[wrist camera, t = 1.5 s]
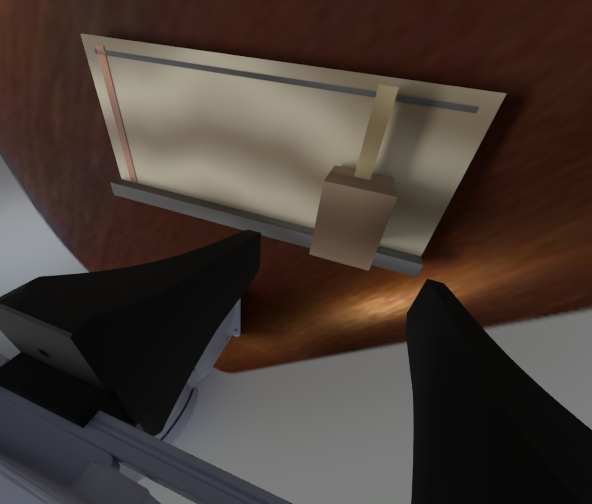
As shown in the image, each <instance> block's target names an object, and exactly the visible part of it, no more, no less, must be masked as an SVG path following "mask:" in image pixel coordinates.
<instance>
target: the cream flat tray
mask: <svg viewBox="0 0 592 504" xmlns="http://www.w3.org/2000/svg"><path fill="white" fill-rule="evenodd" d="M81 37H82V41H83V44H84V48H85V51H86V55H87V58H88V62H89V65H90V69H91V73H92V76H93V80H94V83H95V87H96V90H97V94H98V97H99V101H100V104H101V108H102V111H103V115H104V118H105V122H106V125H107V129H108V132H109V136H110V139H111V143H112V146H113V150H114V153H115V157H116V161H117V164H118V168H119V171H120V175H121V178H122V179H120V180H117V181H114V182H110V183H111V186H112V189H113V192H114V195H117V196H121V197H124V198H128V199H132V200H135V201H139V202H143V203H146V204H150V205H154V206H157V207H161V208H165V209H168V210H172V211H176V212H179V213H183V214H187V215H190V216H194V217H198V218H201V219H205V220H208V221H212V222H216V223H219V224H223V225H227V226H230V227H234V228H238V229H241V230H248V229H249V230H253V231H257V232H260V233H261V235H263V236H267V237H271V238H274V239H278V240H282V241H285V242H289V243H293V244H296V245H300V246H304V247H307V248H311V243H312V238H313V233H314V228H315V223H316V218H317V213H318V208H319V203H320V198H321V193H322V187H323V182H324V180H325V178H326V177H327V176H328V174H329V173H330V171H331V170H332V169H333V167H334V166H335V165H336V166H341V167H346V168H350V169H355V170H356V167H357V164H358V160H359V156H360V153H361V149H362V145H363V141H364V138H365V134H366V130H367V126H368V123H369V119H370V115H371V112H372V108H373V104H374V100H375V97H376V93H377V89H378V85H379V84H380V85H386V86H393V87H399V89H398V92H397V95H396V98H395V102H394V105H393V108H392V111H391V115H390V118H389V121H388V124H387V127H386V131H385V134H384V137H383V140H382V144H381V147H380V150H379V153H378V157H377V160H376V163H375V166H374V170H373V173H374V174H379V175H384V176H389V177H393V178H394V181H395V187H396V192H397V200H396V202H395V205H394V208H393V210H392V213H391V215H390V218H389V220H388V223H387V225H386V228H385V231H384V233H383V236H382V238H381V241H380V243H379V246H378V249H377V251H376V254H375V256H374V259H373V261H372V264H371V265H373V266H377V267H380V268H384V269H388V270H391V271H395V272H399V273H402V274H406V275H410V276H413V277H417V276H418V274H419V272H420V270H421V268H422V267H423V262H422V258H421V255H422V254H423V252H424V250H425V248H426V246H427V244H428V242H429V240H430V238H431V236H432V235H433V233H434V231H435V229H436V227H437V225H438V223H439V221H440V219H441V217H442V216H443V214H444V212H445V210H446V208H447V206H448V204H449V202H450V200H451V198H452V197H453V195H454V193H455V191H456V189H457V187H458V185H459V183H460V181H461V179H462V178H463V176H464V174H465V172H466V170H467V168H468V166H469V164H470V162H471V160H472V159H473V157H474V155H475V153H476V151H477V149H478V147H479V145H480V143H481V141H482V140H483V138H484V136H485V134H486V132H487V130H488V128H489V126H490V124H491V122H492V121H493V119H494V117H495V115H496V113H497V111H498V109H499V107H500V105H501V103H502V102H503V100H504V98H505V96H506V93H499V92H492V91H485V90H478V89H470V88H463V87H456V86H449V85H442V84H435V83H428V82H421V81H414V80H407V79H400V78H392V77H385V76H378V75H371V74H364V73H357V72H350V71H343V70H336V69H329V68H322V67H314V66H307V65H300V64H293V63H286V62H279V61H272V60H265V59H258V58H251V57H243V56H236V55H229V54H222V53H215V52H208V51H201V50H194V49H187V48H180V47H173V46H165V45H158V44H151V43H144V42H137V41H130V40H123V39H116V38H109V37H102V36H95V35H87V34H81Z"/></svg>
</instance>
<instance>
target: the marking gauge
mask: <svg viewBox="0 0 592 504" xmlns="http://www.w3.org/2000/svg"><path fill="white" fill-rule="evenodd" d="M398 89H399V87H393V86H386V85H380V84H379V85H378V89H377V93H376V97H375V100H374V104H373V108H372V112H371V115H370V119H369V123H368V126H367V130H366V134H365V138H364V141H363V145H362V149H361V153H360V156H359V160H358V164H357V167H356V170H355V169H350V168H346V167H341V166H336V165H335V166H334V167H333V169H332V170H331V171H330V173H329V174H328V176H327V177H326V178H325V180H324V182H323V187H322V193H321V198H320V203H319V208H318V213H317V218H316V223H315V228H314V233H313V238H312V243H311V248H310V253H309V254H310V255H314V256H318V257H321V258H325V259H328V260H332V261H336V262H339V263H343V264H346V265H350V266H353V267H357V268H361V269H364V270H368V271H369V269H370V267H371V264H372V261H373V259H374V256H375V254H376V251H377V249H378V246H379V243H380V241H381V238H382V236H383V233H384V231H385V228H386V225H387V223H388V220H389V218H390V215H391V213H392V210H393V208H394V205H395V202H396V200H397V192H396V187H395V181H394V178H393V177H389V176H384V175H379V174H374V173H373V170H374V166H375V163H376V160H377V157H378V153H379V150H380V147H381V144H382V140H383V137H384V134H385V131H386V127H387V124H388V121H389V118H390V115H391V111H392V108H393V105H394V102H395V98H396V95H397V92H398Z"/></svg>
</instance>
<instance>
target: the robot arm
mask: <svg viewBox="0 0 592 504" xmlns="http://www.w3.org/2000/svg"><path fill="white" fill-rule="evenodd" d="M260 243H261V233H260V232H257V231H253V230H249V229H248V230H245V231H242V232H240V233H237V234H235V235H232V236H230V237H228V238H225V239H223V240H220V241H218V242H215V243H213V244H210V245H207V246H205V247H202V248H199V249H196V250H193V251H191V252H188V253H185V254H182V255H178V256H175V257H171V258H167V259H164V260H160V261H155V262H151V263H146V264H141V265H136V266H131V267H126V268H119V269H113V270H106V271H98V272H90V273H80V274H70V275H69V274H68V275H57V276H43V277H38V278H36V279H34V280H32V281H30V282H28V283H26V284H24V285H22V286H20V287H18V288H17V289H15V290H13V291H11V292H9V293H7V294H5V295H3V296H1V297H0V330H1V331H2V333H4V335H5V336H6V337H7V338H8V339H9V340H10V341H11V342H12V343H13V344H14V345H15V346H16V347H17V348H18V349H19V350H20V351H21V353H19V354H18V355H17V356H15V357H14V358H13V359H11V360H9V359H8V358H6V357H5V356H3V355H2V354H0V504H161V503H160V502H158V501H157V500H156V499H155V498H154V497H153V496H151V494H150V493H149V491H148V489H146V488H145V487H143V486H141V485H140V484H138V481H139V480H141V479H142V478H143V477H144V476H145V477H147V478H149V479H151V480H153V481H154V482H156V483H158V484H160V485H162V486H164V487H166V488H168V489H170V490H172V491H174V492H175V493H177V494H179V495H181V496H183V497H185V498H187V499H189V500H191V501H193V502H195V503H197V504H292V503H290V502H288V501H286V500H284V499H282V498H280V497H278V496H276V495H274V494H271V493H269V492H267V491H265V490H263V489H261V488H259V487H257V486H255V485H253V484H251V483H249V482H247V481H245V480H243V479H241V478H239V477H236V476H234V475H232V474H230V473H228V472H226V471H224V470H222V469H220V468H218V467H216V466H214V465H212V464H209V463H207V462H205V461H203V460H201V459H199V458H197V457H195V456H193V455H191V454H189V453H187V452H185V451H183V450H181V449H178V448H176V447H174V446H172V443H173V442H174V441H175V440H176V439H177V437H178V436H179V435H180V433H181V432H182V431H183V429H184V428H185V426H186V425H187V423H188V421H189V420H190V418H191V416H192V414H193V412H194V410H195V407H196V404H197V397H198V389H197V387H195V384H196V383H197V381H199V380H200V379H202V378H203V377H204V376H206V375H207V374H208V372H209V371H210V370H211V368H212V367H213V365H214V364H215V362H216V360H217V359H218V357H219V356H220V354H221V352H222V351H223V349H224V348H225V346H226V344H227V343H228V341H229V340H230V338H231V337H232V335H234V336H236V337H239V336H240V334H241V297H242V295H243V294H244V292H245V291H246V290H247V288H248V287H249V286H250V284H251V282H252V281H253V279H254V277H255V275H256V273H257V271H258V270H259V265H260ZM406 337H407V347H408V356H409V364H410V373H411V381H412V390H413V406H414V407H413V408H414V409H413V411H414V412H413V413H414V441H413V442H414V443H413V479H412V501H411V504H592V430H591V429H590V428H589V427H587V426H586V425H585V424H584V423H582V422H581V421H580V420H579V419H577V418H576V417H575V416H574V415H573V414H572V413H570V412H569V411H568V410H567V409H566V408H565V407H563V406H562V405H561V404H560V403H559V402H557V401H556V400H555V399H554V398H553V397H552V396H550V395H549V394H548V393H547V392H546V391H545V390H544V389H543V388H542V387H540V386H539V385H538V384H537V383H536V382H535V381H534V380H533V379H532V378H531V377H530V376H529V375H527V374H526V373H525V372H524V371H523V370H522V369H521V368H520V367H519V366H518V365H517V364H516V363H515V362H514V361H513V360H512V359H511V358H510V357H509V356H508V355H507V354H506V353H505V352H504V351H503V350H502V349H501V348H500V347H499V346H498V345H497V344H496V342H495V341H494V340H493V339H492V338H491V337H490V336H489V335H488V334H487V333H486V332H485V330H484V329H483V328H482V327H481V326H480V325H479V324H478V323H477V321H476V320H475V319H474V318H473V317H472V316H471V314H470V313H469V312H468V311H467V310H466V309H465V307H464V306H463V305H462V304H461V303H460V301H459V300H458V299H457V298H456V297H455V295H454V294H453V293H452V292H451V291H450V290H449V289H448V287H447V286H446V285H445V284H444V283H441V282H437V281H433V280H430V279H427V280H426V282H425V283H424V285H423V287H422V289H421V290H420V292H419V294H418V295H417V297H416V299H415V300H414V302H413V304H412V306H411V307H410V309H409V311H408V312H407V326H406Z"/></svg>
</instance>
